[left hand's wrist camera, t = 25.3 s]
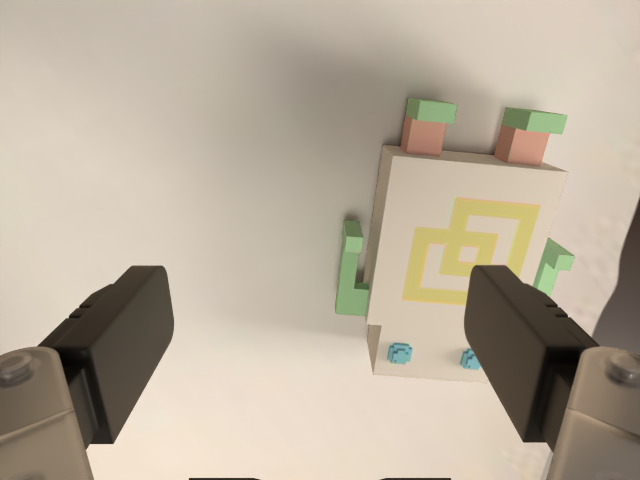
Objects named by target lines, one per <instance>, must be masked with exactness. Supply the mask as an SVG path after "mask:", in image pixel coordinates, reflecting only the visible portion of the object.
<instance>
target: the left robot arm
mask: <svg viewBox="0 0 640 480" xmlns="http://www.w3.org/2000/svg"><path fill="white" fill-rule="evenodd" d="M173 330H174V317H173V310H172V303H171V297H170V290H169V284H168V277H167V272H166V270H165V268H164V267H163V266H131V267H130V268H129V269H128V270H127V271H126V272H125V273H124V274H123V275H122V276H121V277H120V278H119V279H118V280H117V281H116V282H115V283H114V284H110V285H108V286H106V287H104V288H102V289H100V290H98V291H97V292H95V293H93V294H91V295H90V296H89V297H88V298H87V299H86V300H85V301H84V302H83V303H82V304H81V305H80V306H79V308H77V309H76V310H75V311H73V312H72V313H71V314H70V315H69V318H66V319H65V320H64V321H63V322H62V323H61V324H60V325H59V326H58V327H57V328H56V329H55V330H54V331H53V332H52V333H50V334H49V335H48V336H47V337H46V338H45V339H44V340H43V341H42V342H41V343H40V344H39V345H38V346H37V347H28V348H23V349H18V350H15V351H11V352H8V353H6V354H3V355H1V356H0V480H94V478H93V474H92V471H91V467H90V463H89V460H88V456H87V453H86V449H87V448H88V446H89V444H114V442H115V440H116V438H117V436H118V435H119V433H120V431H121V429H122V428H123V426H124V424H125V422H126V420H127V419H128V417H129V415H130V413H131V411H132V410H133V408H134V406H135V404H136V403H137V401H138V399H139V397H140V395H141V394H142V392H143V390H144V388H145V387H146V385H147V383H148V381H149V379H150V378H151V376H152V374H153V372H154V370H155V369H156V367H157V365H158V363H159V362H160V360H161V358H162V356H163V354H164V353H165V351H166V349H167V347H168V346H169V344H170V342H171V339H172V336H173ZM464 331H465V336H466V339H467V342H468V343H469V345H470V347H471V349H472V351H473V352H474V354H475V356H476V358H477V360H478V361H479V363H480V365H481V367H482V369H483V371H484V372H485V374H486V376H487V378H488V380H489V381H490V383H491V385H492V387H493V389H494V390H495V392H496V394H497V396H498V398H499V399H500V401H501V403H502V405H503V407H504V408H505V410H506V412H507V414H508V416H509V417H510V419H511V421H512V423H513V425H514V426H515V428H516V430H517V432H518V434H519V435H520V437H521V439H522V441H523V442H547V444H548V445H549V447H550V449H551V450H552V452H553V456H552V460H551V464H550V467H549V471H548V474H547V478H546V480H640V356H639V355H637V354H634V353H632V352H629V351H625V350H622V349H617V348H612V347H601V346H599V345H598V344H597V343H596V342H595V341H594V340H593V339H592V338H591V337H590V336H589V335H588V334H587V333H586V332H585V331H584V330H583V329H582V328H581V327H580V326H579V325H578V324H577V323H576V322H575V321H574V320H573V319H572V318H571V317H568V315H567V314H566V313H565V312H564V311H563V310H562V309H561V308H560V307H558V305H557V304H556V303H555V302H554V301H553V300H552V299H551V298H550V297H549V296H548V295H547V294H546V293H544V292H542V291H540V290H538V289H536V288H535V287H533V286H531V285H529V284H527V283H523V282H522V281H521V280H520V279H519V278H518V277H517V276H516V275H515V274H514V273H513V272H512V271H511V270H510V269H509V268H508V267H507V266H506V265H475V266H474V267H473V268H472V271H471V275H470V281H469V288H468V294H467V301H466V308H465V314H464ZM189 480H259V479H255V478H189ZM381 480H451V478H385V479H381Z"/></svg>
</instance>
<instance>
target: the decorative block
mask: <svg viewBox="0 0 640 480" xmlns="http://www.w3.org/2000/svg"><path fill="white" fill-rule="evenodd" d="M456 110H457V104H453V103H448V102H443V101H435V100H425V99H415V98H408V103H407V109H406V115H405V122H404V128H403V134H402V140H401V146H392V145H383V147H382V154H381V160H380V167H379V174H378V181H377V188H376V195H375V201H374V208H373V215H372V222H371V229H370V236H369V242H368V249H367V256H366V263H365V270H364V277H363V282H355V277H356V270H357V263H358V256H359V253H361V251H362V244H363V235H362V231H361V227H360V223H359V221H349V220H344V225H343V233H342V235H343V245H342V253H341V261H340V269H339V278H338V286H337V294H336V302H335V313H336V314H346V315H358V316H365V319H366V324H369V331H368V338H367V343H368V348H369V354H370V360H371V365H372V371H373V375H382V376H396V377H409V378H422V379H435V380H449V381H462V382H475V383H487V382H488V378H487V376H486V374H485V372H484V371H483V369H482V367H481V365H480V363H479V361H478V360H477V358H476V356H475V354H474V352H473V351H472V349H471V347H470V345H469V343H468V342H467V339H466V336H465V331H464V314H465V308H466V301H467V294H468V288H469V281H470V275H471V271H472V268H473V267H474V266H475V265H506V266H507V267H508V268H509V269H510V270H511V271H512V272H513V273H514V274H515V275H516V276H517V277H518V278H519V279H520V280H521V281H522V282H523V283H527V284H529V285H531V286H533V287H535V288H536V289H538V290H540V291H542V292H544V293H546V294H547V295H548V296H549V297H550V295H551V292H552V289H553V286H554V283H555V280H556V277H557V274H558V271H559V270H567V271H570V269H571V266H572V263H573V260H574V257H575V256H574V255H573V254H571V253H570V252H569V251H567V250H566V249H564V248H563V247H561V246H560V245H559V244H557V243H556V242H554V241H553V240H552V239H550V238H548V235H549V232H550V229H551V226H552V223H553V220H554V217H555V213H556V210H557V207H558V204H559V201H560V198H561V194H562V191H563V188H564V185H565V182H566V179H567V175H568V172H567V171H564V170H562V169H559V168H556V167H554V166H551V165H549V164H546V163H544V162H542V158H543V155H544V151H545V148H546V144H547V141H548V138H549V134H550V133H553V134H562V133H563V130H564V126H565V123H566V120H567V116H568V115H562V114H556V113H550V112H544V111H537V110H527V109H517V108H506V109H505V113H504V117H503V122H502V126H501V130H500V134H499V138H498V142H497V146H496V150H495V154H494V155H487V154H477V153H466V152H455V151H445V150H442V145H443V140H444V135H445V130H446V125H447V123H449V124H454V120H455V115H456Z"/></svg>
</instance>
